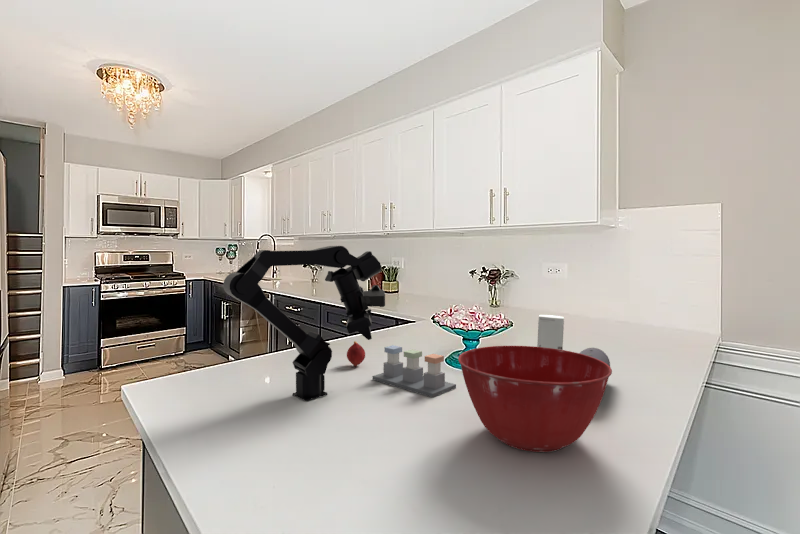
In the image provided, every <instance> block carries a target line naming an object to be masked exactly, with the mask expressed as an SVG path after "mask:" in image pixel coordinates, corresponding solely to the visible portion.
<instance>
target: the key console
mask: <svg viewBox="0 0 800 534" xmlns="http://www.w3.org/2000/svg"><path fill="white" fill-rule="evenodd" d="M445 374H446V373H445V372H444V371H441V373H440V374H437V375H432V374H428V371H426V372H424V367H423V366H419V368H417V369H414V370H412V369H409V368H407V366H404V362H401V361H399V363H398V364H394V365H393V364H389V363H387V361H386V362H383V372H381V373H379V374H374V375H372V381H373V380H374V381H377V382H380V383H383V384H386V385H389V386H393V387H395V388H396V387H397V388H399V389H404V390H406V391H409V392H412V393H416V394H419V395H422V396H423V395H424V396H426V397H429V398H432V399H433V398H436V397H437V396H440V395H442V394H445V393H447V392H450V391H452V390H455V389H456V388H457V384H456V383H453V382H448V381H446V380H445V379H446V375H445Z"/></svg>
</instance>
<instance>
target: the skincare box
mask: <svg viewBox="0 0 800 534" xmlns="http://www.w3.org/2000/svg"><path fill="white" fill-rule="evenodd" d="M537 322H538V323H537V345H536V347H544V348H553V349H560V350H564V349H563V347H564V345H563V344H564V330H565V327H564V325H565V317H564V315H563V316H562V315H552V314H539V315H538V320H537Z"/></svg>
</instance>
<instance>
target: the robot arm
mask: <svg viewBox="0 0 800 534" xmlns="http://www.w3.org/2000/svg"><path fill="white" fill-rule="evenodd" d="M309 265H310V266H312V265H314V266H320V267H326V268H336V270H335V271H332V270H328V271H327V274H326V276H325V277H324V281H325V282H331V283H333V282H334V285H335V286H336V289H337V291H338V293H339V296H340V299H339V300H340V302H341V303H343V305H344V308H345V313H346V316H347V317H348V318H347V320H346V326H345V327H346V330H347V332H348V334H354V333H356V332H358V333H359V334H361V336H363V337H364V338H365V339H366V340H368V341H370V340H372V339H373V338H372V333H371V332H372V331H371V326H372V323H373V322H372V309H371V308H370V309H369V307H380V308H383V307H385V306H386V291H385V290H384V289H381V288H380V286H379V284H372V286H371V288H370V289H368V290H364V288H363V287H362V286H360V284H359V282H358V281H361V282H366V281H368V280H369V279H371V278H373V277H374V276H376V275H378V274H380V273H381V272H382V265H381V262H380V261H379V260H378V258H377V257H376V256H375V255H374V254H373V253H372V251H369V250H368V251H365V252H363V253H362V254H361V255H359V256H357V257H356V256H354V255H353V254H351V253H350V251H349V250H348V249H347V247H345V246H343V245H328V246H323V247H318V248H315V249H309V250H306V249H305V250H269V249H261V250H258V251H257V252H256V253H255V254H254V255H253V256H252V257H251V258H250V259H249V260H248V261H247V262H246V263H244V264H243V265H242V266H240V267H239V268H238V270H236V272H232V273H229V274H228V275H226V276H225V278H224V280H223V283H222V286H223V287H222V288H223V290H224V292H225V293H226V294H227V295H228V296H230V297H232V298H233V299H235V300H237V301H238V302H240V303H242V304H244V305H246V306H248V307H249V308H252V309H253V310H254V311H256V313H258V314H259V315H260V316H261V317H263V319H264V320H265V321H266V322H268V323H269V324H270V326H273V327H274V328H275V329H276V330H277V331H278V332H280V334H281V335H283V336H284V337H286V339H287V340H288V341H290V342H291V343H292V344H293V346H294V347H295V349H296V351H297V352H298V353H299V354H298V355H297V356H296V357H295V358H294V359H293V361H292V365H293V367H294V369H295V370H297V371H296V372H295V392H292V396H293V397H296V398H298V399H300V400H302V401H306V402H309V401H312V400H315V399H318V398H322V397H324V396H327V395H328V392H327V391H325V387H326V386H325V383H326V381H325V374H326V370H327V368H328V365H329V364H330V362H331V360H332V356H333V349H332V348H331V346H330V345H331V343H329V342H327V341H325V340H324V338H323V337H322V336H321V334H319V333H316V332H314V331H311V330H309V331H308V333H307V332H306V331H305V330H304V329H302V328H301V327H300V326H299V325H298V324H297V323H295V322H294V321H293V320H292V319H291V318H290V317H289V316H287V314H286V313H284V312H283V311H282V310H281V309H280V308H279V307H277V305H275V303H273V302H272V301H271V300H270V299H269V298H268V297H267V296H266V294H265V292H264V291H263V288H262V287H261V285H259V283H260V282H261V281H262V280H263V278H264V277H265V276H266V274H267V272H269V269H270V268H272V267H275V266H276V267H278V266H280V267H281V266H309ZM347 266H348V267H347ZM345 267H346V268H345Z"/></svg>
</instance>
